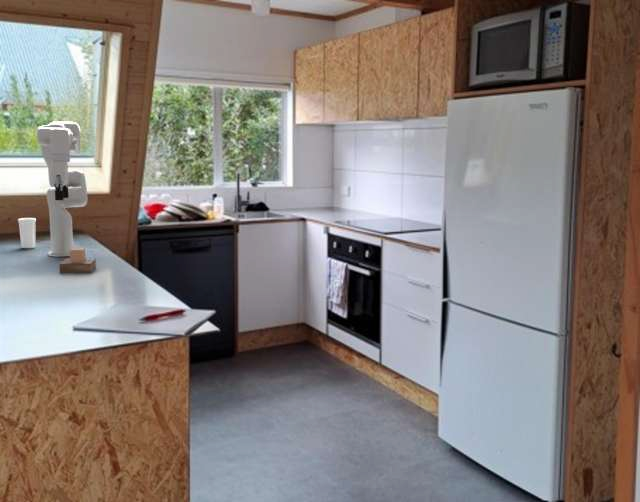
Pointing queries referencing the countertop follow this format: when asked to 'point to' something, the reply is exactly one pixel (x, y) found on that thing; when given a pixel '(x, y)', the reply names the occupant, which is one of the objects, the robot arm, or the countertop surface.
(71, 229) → the robot arm
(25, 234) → the cup
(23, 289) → the countertop surface
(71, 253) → the terracotta cube
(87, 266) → the walnut base
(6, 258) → the countertop surface
